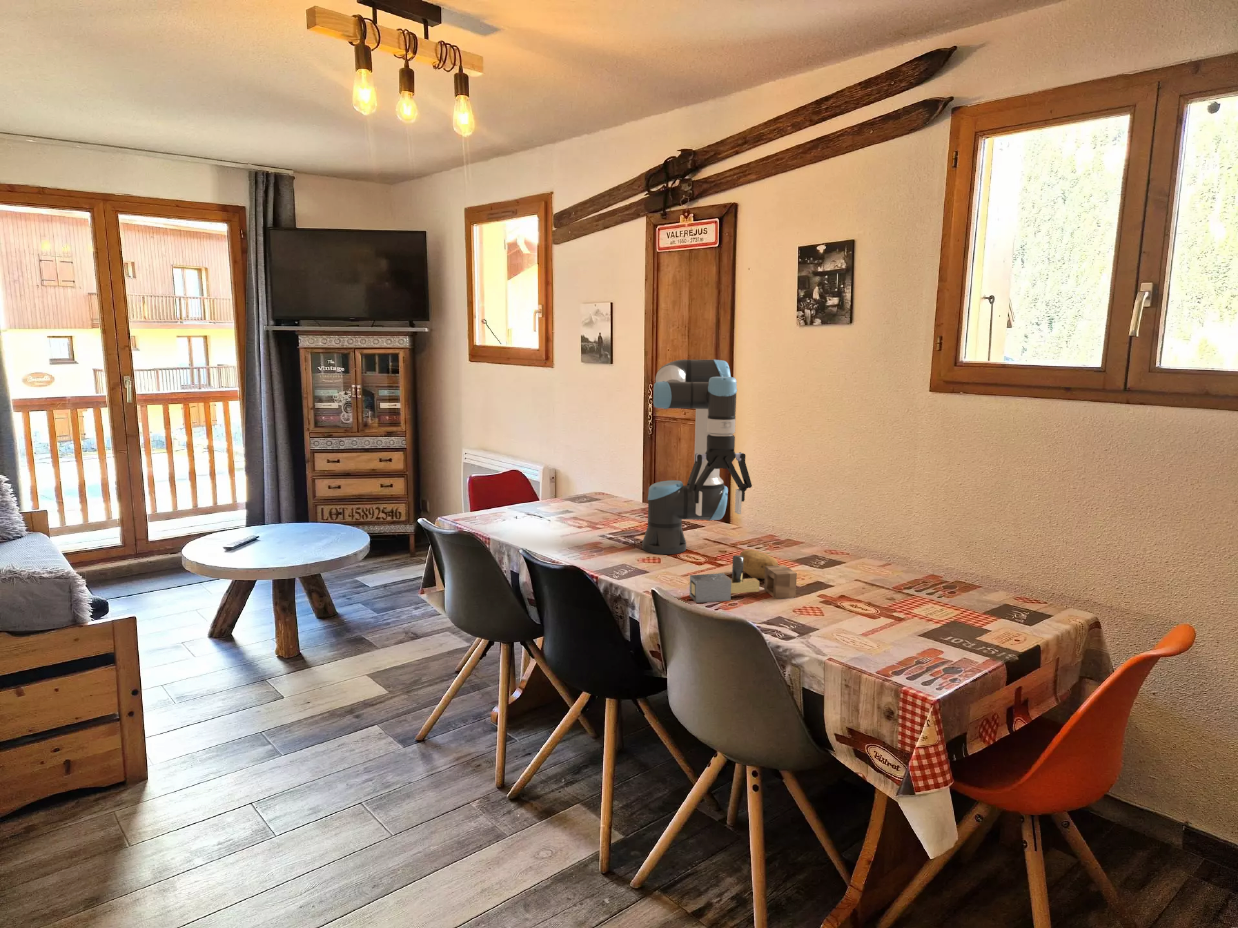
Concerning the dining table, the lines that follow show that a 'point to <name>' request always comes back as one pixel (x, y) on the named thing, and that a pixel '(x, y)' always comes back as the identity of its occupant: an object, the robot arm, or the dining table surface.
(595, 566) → the dining table surface
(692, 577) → the sleeve
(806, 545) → the dining table surface
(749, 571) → the potato
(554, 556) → the dining table surface
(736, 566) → the sliding bolt
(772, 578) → the socket
